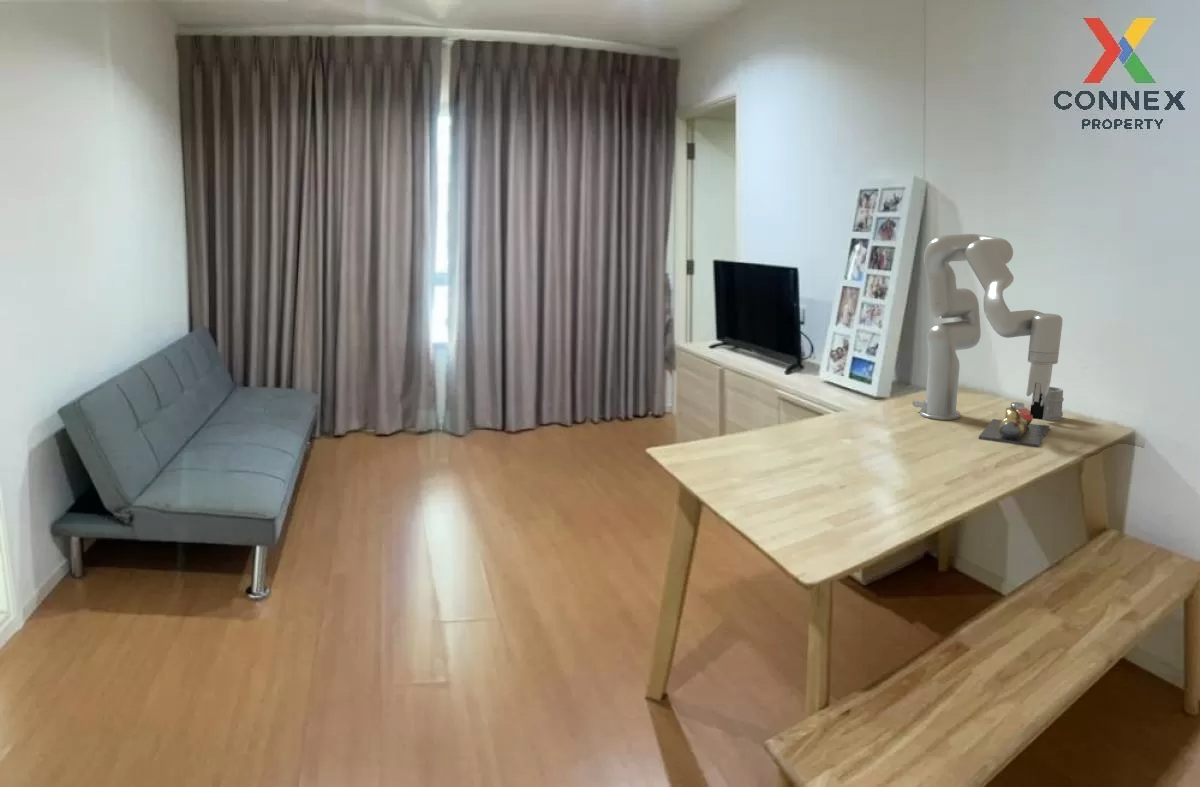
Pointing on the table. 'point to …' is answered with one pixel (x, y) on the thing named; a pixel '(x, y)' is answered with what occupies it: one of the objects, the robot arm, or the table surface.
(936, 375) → the robot arm
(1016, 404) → the lever
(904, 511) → the table surface
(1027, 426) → the valve body
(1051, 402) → the mug
